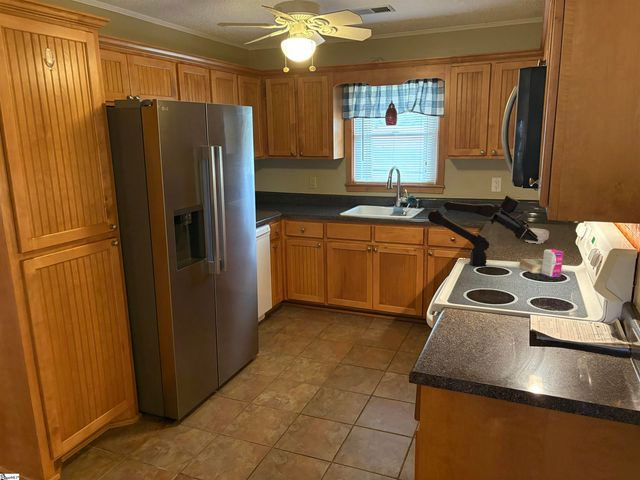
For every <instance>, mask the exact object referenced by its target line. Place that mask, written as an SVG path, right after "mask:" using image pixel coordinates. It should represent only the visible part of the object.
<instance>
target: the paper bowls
mask: <svg viewBox="0 0 640 480" xmlns="http://www.w3.org/2000/svg"><path fill="white" fill-rule="evenodd" d="M529 229H530V230H531V231H533V232H534V233H535V234H536V235H537V236H538V238H537V239H538V242H535V241H530V240H524V241H525V243H527V242H528V243H529V244H532V243H536V245H540V244H541V243H542V244H544V243H545V241H546V240H548V239H549V236H550V231H549V230H548V229H543V228H537V227H529Z"/></svg>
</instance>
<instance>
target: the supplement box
mask: <svg viewBox="0 0 640 480" xmlns="http://www.w3.org/2000/svg"><path fill="white" fill-rule="evenodd" d="M564 253H565V252H564V251H562V250H558V249H544V251H543V258H542V259H543V264H542V272H541V273H540V274H541V275H542V276H545V277H547V278H560V277H561V276H562V269H563V268H562V267H563V261H564Z"/></svg>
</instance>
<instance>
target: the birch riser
mask: <svg viewBox="0 0 640 480" xmlns="http://www.w3.org/2000/svg"><path fill="white" fill-rule="evenodd" d="M542 264H543V258H542V259H541V258H535V259H533V258H531V259H529V258H528V259H527V258H522V259H521V258H520V259H519V267H520V268H521V269H523V270H525V271H528V272H530V273H531V274H541V272H542Z"/></svg>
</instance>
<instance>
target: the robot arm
mask: <svg viewBox="0 0 640 480" xmlns="http://www.w3.org/2000/svg"><path fill="white" fill-rule="evenodd" d="M520 203H521V201H519V200H517V199H516V198H514V197H511V196H509V195H505V197H504V199H503V200H502V202H501V203H500V204H495V205H494V204H493V203H479V204H473V203H466V202H465V203H463V202H456V201H446V202H445V203H444V204H443V205H441V206H440V207H439V208H438V209H433V210H432V211H430V212H429V213H428V215H427V220H428V221H429V222H430V223H432V224H435V225H437V226H441V227H445V228H446V229H447V230H449V231H451V232H453V233H455V234H457V235H458V236H460V237H462V238H464V239H465V240H467V241H469V242H470V243H471V245H473V246H472V248H471V252H470V259H469V262H468V264H469V263H470V265H471V266H472V267H487V259H488V258H487V253H486V252H485V251H488V249H489V248H490V245H491V240H490V239H489V238H488V235H484V234H483V233H482V232H478V234H477V233H474V232H472V231H470V230H468V229H466V228H465V227H463V226H461V225H459V224H458V223H456V222H454V221H452V220H450V219H449V218H448V217H447V216H446V215H445V214H446V213H448V212H449V211H456V212H457V211H458V212H465V213H473V214H476V215H480V216H482V217H486V218H490V219H489V221H490V223H491V225H494V223H497V224H499V225H501V226H502V227H504V228H505V229H506V230H509V231H511V232H513V234H514V236H515V238H516V239H517V240H524V241H525V240H530V241H535V242H538V239H537V238H538V236H537V235H536V234H535V233H534V232H533V231H531V230H530V229H529V228H530V227H529V223H528V222H527V220H528V219H530V218H531V217H532V214H530V213H529V211H528V210H525V211H524V210H521V211H519V215H518V216H512V215H510V214H511V213H514V212H515V211H516V209H517V208H518V206H519V205H520ZM497 212H498V213H497Z"/></svg>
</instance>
